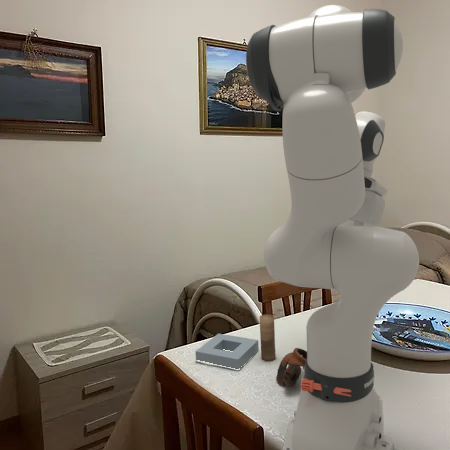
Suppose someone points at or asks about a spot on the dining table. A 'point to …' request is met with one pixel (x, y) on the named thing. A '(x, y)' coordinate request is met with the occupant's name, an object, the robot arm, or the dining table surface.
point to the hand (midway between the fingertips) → (331, 234)
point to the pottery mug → (291, 367)
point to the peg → (267, 337)
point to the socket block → (235, 359)
